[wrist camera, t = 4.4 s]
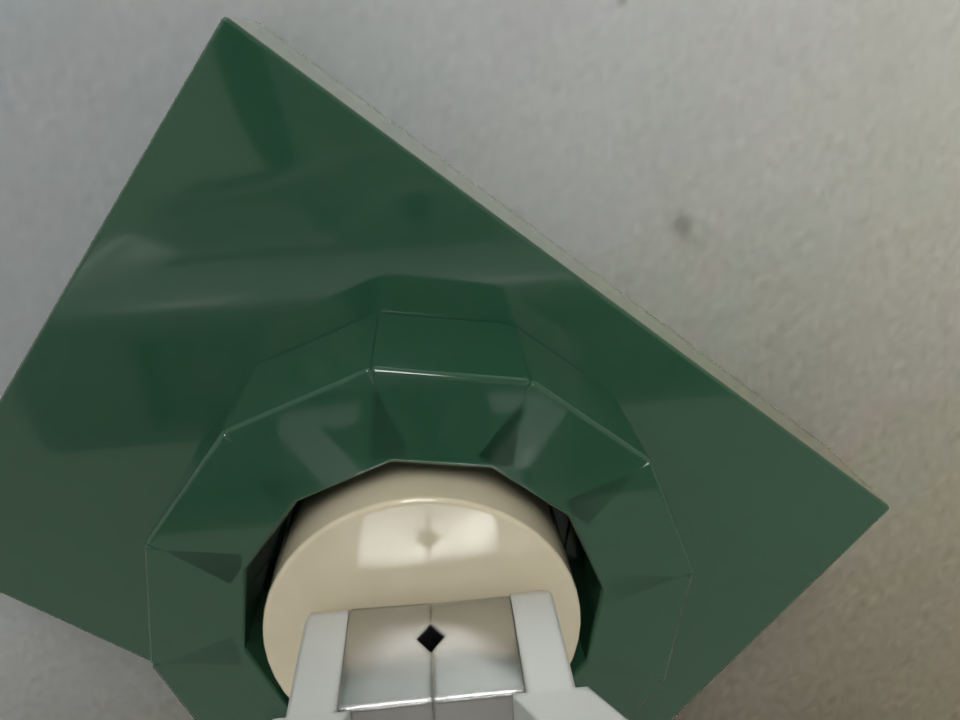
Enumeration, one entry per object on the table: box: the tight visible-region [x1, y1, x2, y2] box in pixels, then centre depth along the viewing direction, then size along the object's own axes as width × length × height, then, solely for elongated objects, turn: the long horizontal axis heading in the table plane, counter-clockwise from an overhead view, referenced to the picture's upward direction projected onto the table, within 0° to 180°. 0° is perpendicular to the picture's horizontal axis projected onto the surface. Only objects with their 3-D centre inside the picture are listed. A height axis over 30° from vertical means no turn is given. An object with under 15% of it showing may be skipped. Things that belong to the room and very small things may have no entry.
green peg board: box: [0, 17, 889, 720], centre depth 12 cm, size 12×9×4 cm
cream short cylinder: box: [262, 462, 581, 699], centre depth 10 cm, size 4×4×2 cm
